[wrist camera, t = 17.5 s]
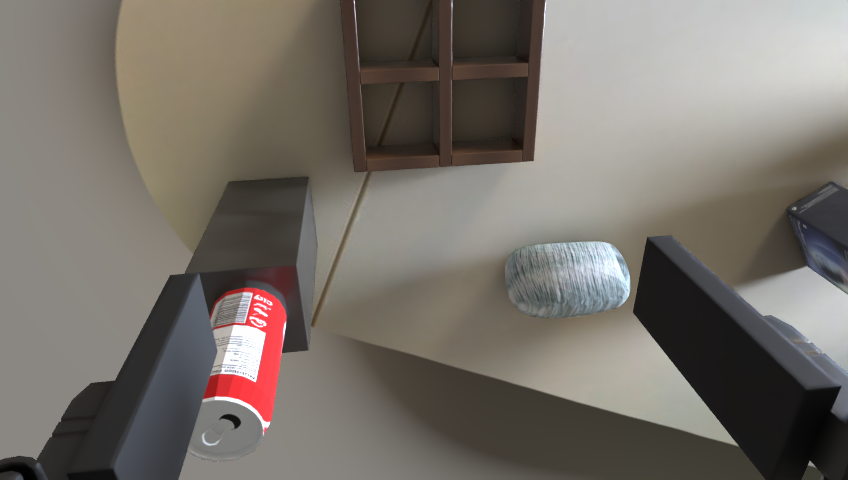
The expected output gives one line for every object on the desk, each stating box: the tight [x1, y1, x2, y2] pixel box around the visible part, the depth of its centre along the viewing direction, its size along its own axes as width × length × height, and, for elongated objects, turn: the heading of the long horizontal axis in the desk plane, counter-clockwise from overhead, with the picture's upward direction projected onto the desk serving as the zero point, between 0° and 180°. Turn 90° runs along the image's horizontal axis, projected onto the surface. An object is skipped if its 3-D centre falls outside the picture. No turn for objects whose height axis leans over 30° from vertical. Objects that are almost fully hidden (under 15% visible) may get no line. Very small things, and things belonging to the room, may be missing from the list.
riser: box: [185, 177, 318, 353], centre depth 51 cm, size 8×8×18 cm
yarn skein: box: [505, 241, 630, 318], centre depth 62 cm, size 14×10×10 cm
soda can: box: [187, 288, 286, 462], centre depth 37 cm, size 6×6×12 cm
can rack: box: [340, 0, 546, 172], centre depth 52 cm, size 18×18×4 cm
